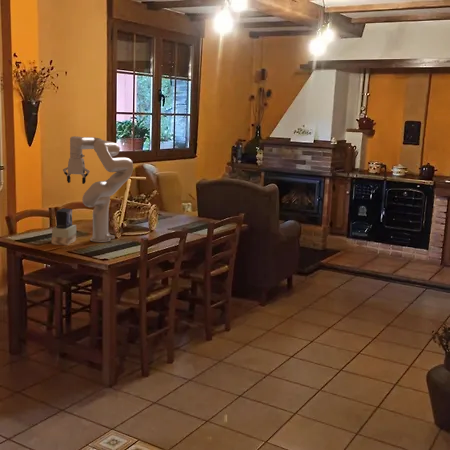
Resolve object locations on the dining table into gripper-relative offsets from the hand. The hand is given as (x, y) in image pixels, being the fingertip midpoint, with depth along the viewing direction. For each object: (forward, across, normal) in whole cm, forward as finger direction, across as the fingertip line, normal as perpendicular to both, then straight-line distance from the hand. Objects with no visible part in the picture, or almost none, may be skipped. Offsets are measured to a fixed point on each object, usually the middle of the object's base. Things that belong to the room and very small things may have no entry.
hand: (76, 183), depth 379 cm
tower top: (+29, -1, +23) cm, 37 cm away
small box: (+24, -1, +23) cm, 33 cm away
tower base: (+34, -1, +23) cm, 41 cm away
